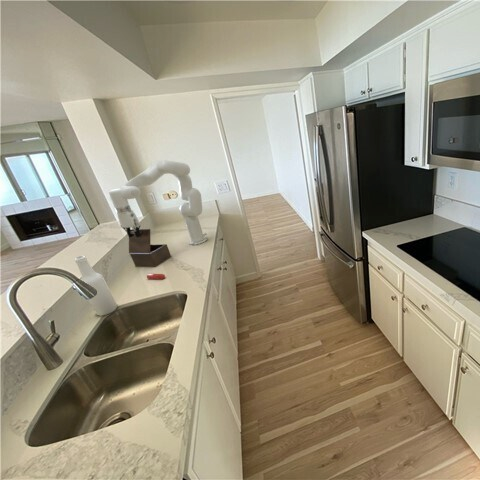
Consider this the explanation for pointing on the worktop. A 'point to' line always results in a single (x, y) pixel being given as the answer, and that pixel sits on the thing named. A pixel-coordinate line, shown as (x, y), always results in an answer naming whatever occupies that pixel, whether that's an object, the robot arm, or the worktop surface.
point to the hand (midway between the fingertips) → (135, 236)
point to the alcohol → (97, 288)
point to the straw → (155, 276)
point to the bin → (151, 256)
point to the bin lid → (140, 242)
